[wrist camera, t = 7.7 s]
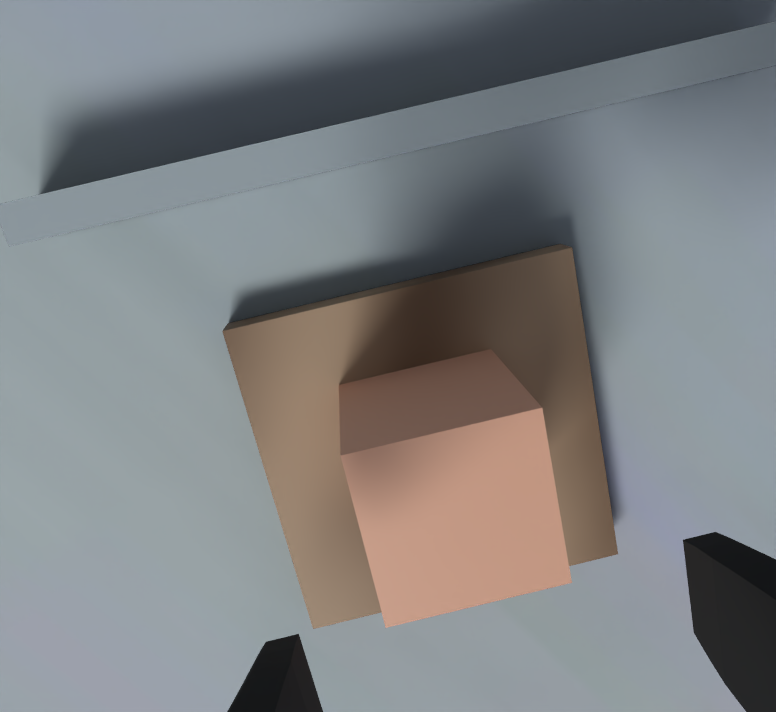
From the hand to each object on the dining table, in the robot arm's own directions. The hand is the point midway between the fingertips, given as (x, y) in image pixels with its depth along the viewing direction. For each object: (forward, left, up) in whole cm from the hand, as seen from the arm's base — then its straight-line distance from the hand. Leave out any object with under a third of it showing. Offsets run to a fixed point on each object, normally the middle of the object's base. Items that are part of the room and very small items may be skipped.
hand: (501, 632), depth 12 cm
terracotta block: (0, 0, -8) cm, 8 cm away
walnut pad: (0, 0, -9) cm, 9 cm away
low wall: (-1, -9, -9) cm, 13 cm away
